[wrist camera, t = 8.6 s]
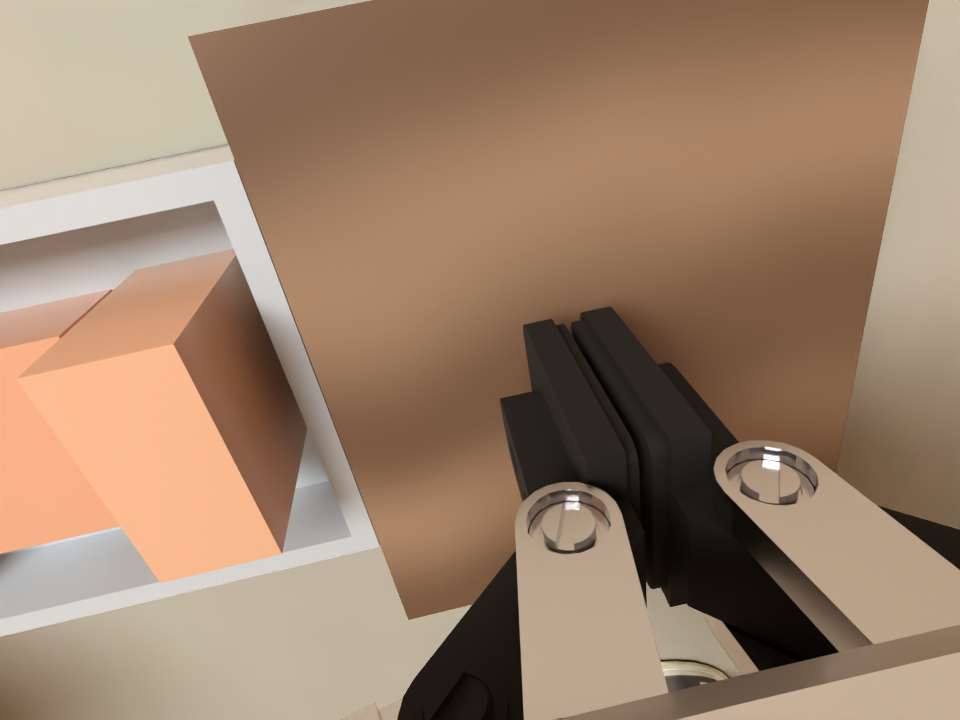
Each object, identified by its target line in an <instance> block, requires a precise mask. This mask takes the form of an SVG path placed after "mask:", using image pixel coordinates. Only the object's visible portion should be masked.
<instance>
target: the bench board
mask: <svg viewBox="0 0 960 720" xmlns="http://www.w3.org/2000/svg"><path fill="white" fill-rule="evenodd" d="M928 3H929V0H372V1H367V2H362V3H357V4H351V5H346V6H341V7H336V8H331V9H326V10H321V11H316V12H311V13H306V14H301V15H295V16H290V17H285V18H280V19H275V20H270V21H265V22H260V23H255V24H250V25H245V26H239V27H234V28H229V29H224V30H219V31H214V32H209V33H204V34H199V35H194V36H188V38H189V41H190V43H191V46H192V49H193V51H194V54H195V57H196V59H197V62H198V64H199V67H200V70H201V72H202V75H203V78H204V80H205V83H206V86H207V88H208V91H209V94H210V96H211V99H212V101H213V104H214V107H215V109H216V112H217V115H218V117H219V120H220V123H221V125H222V128H223V131H224V133H225V136H226V139H227V141H228V144H229V146H230V149H231V152H232V154H233V157H234V160H235V162H236V165H237V168H238V170H239V173H240V176H241V178H242V181H243V183H244V186H245V189H246V191H247V194H248V197H249V199H250V202H251V205H252V207H253V210H254V213H255V215H256V218H257V220H258V223H259V226H260V228H261V231H262V234H263V236H264V239H265V242H266V244H267V247H268V250H269V252H270V255H271V257H272V260H273V263H274V265H275V268H276V271H277V273H278V276H279V279H280V281H281V284H282V287H283V289H284V292H285V294H286V297H287V300H288V302H289V305H290V308H291V310H292V313H293V316H294V318H295V321H296V324H297V326H298V329H299V331H300V334H301V337H302V339H303V342H304V345H305V347H306V350H307V353H308V355H309V358H310V361H311V363H312V366H313V369H314V371H315V374H316V376H317V379H318V382H319V384H320V387H321V390H322V392H323V395H324V398H325V400H326V403H327V406H328V408H329V411H330V413H331V416H332V419H333V421H334V424H335V427H336V429H337V432H338V435H339V437H340V440H341V443H342V445H343V448H344V450H345V453H346V456H347V458H348V461H349V464H350V466H351V469H352V472H353V474H354V477H355V480H356V482H357V485H358V487H359V490H360V493H361V495H362V498H363V501H364V503H365V506H366V509H367V511H368V514H369V517H370V519H371V522H372V524H373V527H374V530H375V532H376V535H377V538H378V540H379V543H380V546H381V548H382V551H383V554H384V556H385V559H386V562H387V564H388V567H389V569H390V572H391V575H392V577H393V580H394V583H395V585H396V588H397V591H398V593H399V596H400V599H401V601H402V604H403V606H404V609H405V612H406V614H407V617H408V620H410V619H414V618H418V617H422V616H426V615H430V614H434V613H439V612H443V611H447V610H451V609H455V608H459V607H463V606H467V605H471V604H474V602H475V601H476V600H477V599H478V597H479V596H480V595H481V594H482V592H483V591H484V590H485V588H486V587H487V586H488V585H489V583H490V582H491V581H492V580H493V578H494V577H495V576H496V575H497V573H498V572H499V571H500V569H501V568H502V567H503V566H504V564H505V563H506V562H507V561H508V559H509V558H510V557H511V556H512V554H513V553H514V552H515V550H516V540H515V521H516V515H517V512H518V510H519V508H520V506H521V505H522V503H523V502H522V498H521V495H520V491H519V487H518V484H517V480H516V476H515V473H514V469H513V465H512V460H511V456H510V452H509V447H508V443H507V438H506V433H505V427H504V422H503V417H502V411H501V405H500V398H504V397H508V396H513V395H518V394H522V393H527V392H531V391H532V388H531V382H530V375H529V368H528V361H527V355H526V348H525V341H524V334H523V325H524V324H529V323H534V322H538V321H543V320H548V319H552V320H553V321H554V323H555V325H560V324H565V325H566V327H567V329H568V330H569V332H570V334H571V336H572V331H571V323H572V322H574V321H579V320H580V314H581V312H585V311H590V310H594V309H599V308H604V307H608V306H611V307H612V308H613V309H614V311H615V312H616V313H617V314H618V316H619V317H620V318H621V319H622V321H623V322H624V323H625V324H626V326H627V327H628V328H629V329H630V331H631V332H632V333H633V334H634V336H635V337H636V338H637V339H638V341H639V342H640V343H641V344H642V346H643V347H644V348H645V349H646V351H647V352H648V353H649V354H650V356H651V357H652V358H653V359H654V361H655V362H656V363H657V364H660V363H665V362H669V363H671V364H673V365H674V366H675V367H676V368H677V369H678V371H679V372H680V373H681V374H682V375H683V377H684V378H685V379H686V380H687V381H688V382H689V384H690V385H691V386H692V387H693V388H694V390H695V391H696V392H697V393H698V394H699V395H700V397H701V398H702V399H703V400H704V401H705V403H706V404H707V405H708V406H709V407H710V409H711V410H712V411H713V412H714V413H715V414H716V416H717V417H718V418H719V419H720V420H721V422H722V423H723V424H724V425H725V426H726V427H727V429H728V430H729V431H730V432H731V433H732V435H733V436H734V437H735V438H736V439H737V440H738V442H739V443H741V442H745V441H750V440H769V441H775V442H781V443H786V444H788V445H791V446H794V447H797V448H799V449H802V450H803V451H805V452H807V453H808V454H810V455H812V456H813V457H815V458H816V459H818V460H819V461H820V462H822V463H823V464H824V465H825V466H827V467H828V468H829V469H831V470H832V471H833V472H834V473H836V468H837V463H838V458H839V453H840V448H841V442H842V437H843V432H844V427H845V422H846V417H847V412H848V407H849V402H850V397H851V392H852V387H853V382H854V377H855V372H856V367H857V362H858V357H859V351H860V346H861V341H862V336H863V331H864V326H865V321H866V316H867V311H868V306H869V301H870V296H871V291H872V286H873V281H874V276H875V271H876V266H877V260H878V255H879V250H880V245H881V240H882V235H883V230H884V225H885V220H886V215H887V210H888V205H889V200H890V195H891V190H892V185H893V180H894V175H895V169H896V164H897V159H898V154H899V149H900V144H901V139H902V134H903V129H904V124H905V119H906V114H907V109H908V104H909V99H910V94H911V89H912V84H913V78H914V73H915V68H916V63H917V58H918V53H919V48H920V43H921V38H922V33H923V28H924V23H925V18H926V13H927V8H928Z"/></svg>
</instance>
